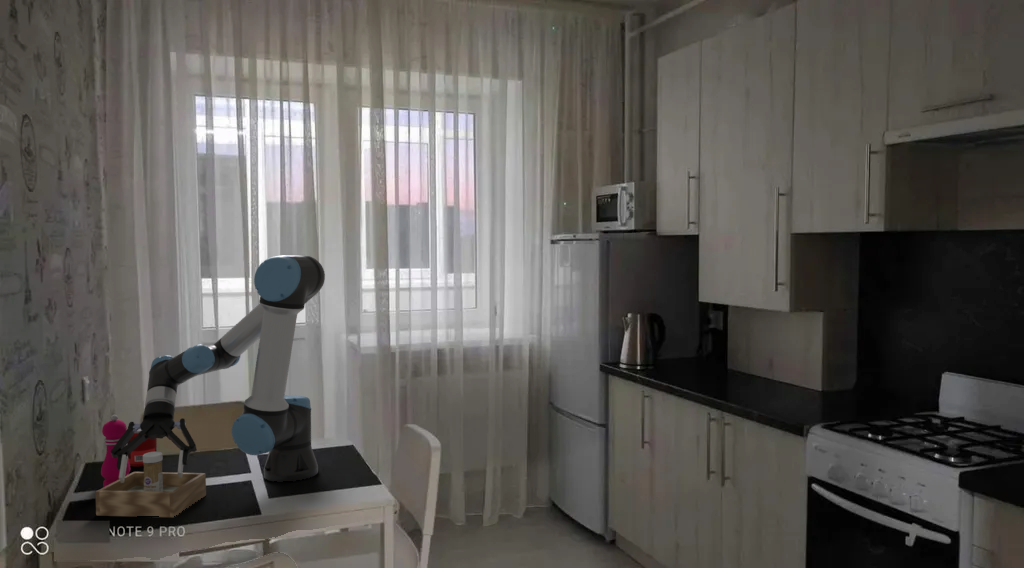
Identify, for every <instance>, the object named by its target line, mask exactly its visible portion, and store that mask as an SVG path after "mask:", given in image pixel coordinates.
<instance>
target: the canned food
mask: <svg viewBox="0 0 1024 568" xmlns="http://www.w3.org/2000/svg"><path fill="white" fill-rule="evenodd" d="M140 431H141V429H138V430H137V432H136V433H135V432H134V435H133V436H132V438H131V439H130V440H129V442H130V441H132V440H133V439H134V438H135V437H136V436H137V435H138V434H139V432H140ZM157 439H158V438H156V439H150V438H148V439H147V440H146V441H145V442H142V443H141V444H140V445H139V446H138V447H137V448H136V449H134V450H133V451H132V452H131V453H130V454H129V455H128V456H127V459H128V461H129V464H130V467H135V468H137V467H144V462H143V455H144V454H145V453H148V452H158V451H157V450H158V449H157V448H158V445H157V444H158V443H157V441H158V440H157ZM129 442H128V443H129ZM128 443H127V444H128ZM127 444H126V445H127Z"/></svg>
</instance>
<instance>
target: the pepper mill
mask: <svg viewBox="0 0 1024 568" xmlns="http://www.w3.org/2000/svg"><path fill="white" fill-rule="evenodd" d="M127 429H128V426H127V424H126V423H125V422H124V421H123V420H120V419H119V417H118V415H117V414H113V415H111V416H110V420H109V421H107V422H105V423H104V425H102V428H101V432H102V435H103V436H104V437H105V438H104V445H105V446H106V454H105V457H104V459H103V463H102V465H101V469H100V475H101V477H102V478H103V479H104V480H103V482H102V483H103V485H102V486H103V487H105V486H107V485H109V484H111V483H113V482H115V481H117V480H119V473H120V470H118V469H117V466H116V465H117V459H118V458H113V457H112V454H111V450H112V449H113V447H114V446H115V445H116V443H117V442H118V441H119V439H120V438H121V437H122V436H123V434H124V433H125V432H126V430H127ZM130 472H131V466H130V464H129V461H127V467H126V474H125V476H127V475H129V474H130ZM103 487H102V488H103Z"/></svg>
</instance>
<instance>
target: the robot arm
mask: <svg viewBox="0 0 1024 568" xmlns="http://www.w3.org/2000/svg"><path fill="white" fill-rule="evenodd" d="M253 278H254V279H253V285H254V288H255V290H256V292H257V295H259V301H258V302H259V303H258V304H257V305H256V306H255V307H253V309H252V310H250V311H249V312H248V313H247V314H246V315H245V316H244V317H243V318H242V319H240V320H239V321H238V322H237V323H236V324H235V325H234V326H233V327H231V329H229V330H228V331H227V332H226V333H225V334H224V335H223V336H222V337H220V339H218V340H217V341H216V342H215V343H214V344H212V345H211V344H210V345H204V344H200V343H198V344H196V345H194V346H191V347H189V348H187V349H186V350H184V351H182V352H181V353H179V354H177V355H175V356H172V355H167V354H165V355H163V356H157V357H155V358H154V359H152V362H151V364H150V369H149V372H148V373H149V374H148V382H147V383H148V384H147V389H146V390H147V392H146V397H145V402H144V403H145V404H144V410H143V418H142V421H141V423H135V422H134V421H130V422H129V423H128V426H127V430H126V432H125V433H124V434H123V436H122V437H121V438H120V439H119V441H118V442H117V443H116V445H115V446H114V447H113V449H112V450H111V454H112V457H113V458H118V459H117V465H116V466H117V469H118V470H120V473H119V480H120V482H121V483H124V480H125V474H126V467H127V461H128V455H129V454H130V453H131V452H132V451H133V450H134V449H136V448H137V447H138V446H139V445H140V444H141V443H142V442H145V441H146V440H147V439H148V438H150V439H156V438H157V439H164V438H166V437H167V440H170V441H171V442H172V443H173V444H174V445H175V446H176V447H177V448H178V450H179V457H178V466H177V473H178V476H179V478H182V474H183V473H184V472H183V471H184V466H185V465H188V463H189V455H190V453H192V452H193V453H195V452H197V445H196V442H195V441H194V439H193V438H192V435H191V433H190V432H189V430H188V428H187V424H186V420H185V418H180V419H179V420H177V421H176V420H175V412H176V408H175V407H176V403H177V394H178V392H177V391H178V386H179V385H181V384H184V383H186V382H187V381H189V380H191V379H193V378H194V377H197V376H201V375H205V374H209V373H211V372H216V371H220V370H226V369H229V368H231V367H233V366H235V365H237V364H238V363H239V361H240V359H241V356H242V354H243V353H245V352H246V351H247V350H248V349H249V348H251V347H252V346H253V345H254V344H255V343H256V342H258V341H259V342H258V349H257V353H256V354H257V356H256V364H255V369H254V375H253V381H252V382H253V383H252V389H251V395H250V396H248V397H247V398H246V399H244V402H243V407H242V413H241V414H240V415H239V416H238V417H237V418H236V419H235V420H234V421H233V423H232V426H231V436H232V439H233V443H234V444H236V446H237V448H238V449H239V450H240V451H241V452H243V453H245V454H246V455H248V456H249V455H250V456H260V455H263V454H268V455H267V457H266V461H265V464H264V468H263V478H264V479H265V480H266V479H267V481H270V482H274V481H277V482H276V483H284V482H283V481H293V482H297V481H296V480H300V481H303V480H302V479H304V480H307V479H306V478H308V479H310V477H311V478H313V477H314V476H316V475H318V473H319V465H318V460H317V459H316V455H315V453H314V450H313V447H312V408H311V400H310V399H311V398H309V397H307V396H306V395H304V396H303V395H286V388H287V382H288V375H289V371H290V370H289V369H290V365H291V364H290V363H291V357H292V349H293V342H294V337H295V331H296V327H297V326H296V325H297V318H298V314H299V313H300V312H302V311H303V310H304V309H305V305H306V304H307V303H308V302H309V301H310V300H311V299H313V298H314V297H315V296H316V295H317V294H318V293H319V292H320V291H321V289H323V286H324V284H325V279H326V274H325V269H324V267H323V265H322V264H321V262H320V261H319V260H317V259H316V258H314V257H312V256H311V255H310V256H309V255H306V254H302V255H300V254H299V255H287V254H286V255H284V254H279V255H276V256H272V257H271V256H270V257H269V258H266V259H265V260H263V261H262V262H260V263H259V265H258V267H257V268H256V270H255V273H254V277H253ZM174 428H177V429H178V430H181V433H182V435H183V437H184V439H185V441H186V442H187V445H186V443H185V442H184V441H183V440H182V439H181V438H180V437H179V436H177V435H176V433H174V431H173V430H174ZM138 429H141V431H140V432H139V434H138V435H137V436H136V437H135V438H134V439H133V440H132V441H130V442H129V440H130V439H131V438H132V436H133V435H134V432H135V433H136V432H137V430H138ZM128 442H129V443H128ZM127 443H128V444H127Z"/></svg>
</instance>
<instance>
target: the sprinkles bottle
mask: <svg viewBox="0 0 1024 568" xmlns="http://www.w3.org/2000/svg"><path fill="white" fill-rule="evenodd" d="M163 456H164V455H163V452H161V451H157V452H148V453H145V454H144V455H143V462H144V466H143V472H144V491H153V492H163V474H162V472H163V458H164V457H163Z"/></svg>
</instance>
